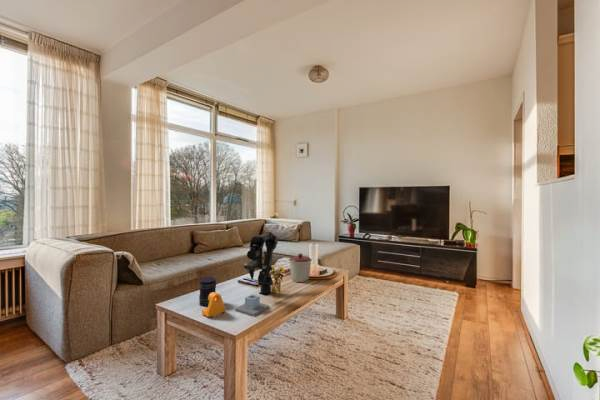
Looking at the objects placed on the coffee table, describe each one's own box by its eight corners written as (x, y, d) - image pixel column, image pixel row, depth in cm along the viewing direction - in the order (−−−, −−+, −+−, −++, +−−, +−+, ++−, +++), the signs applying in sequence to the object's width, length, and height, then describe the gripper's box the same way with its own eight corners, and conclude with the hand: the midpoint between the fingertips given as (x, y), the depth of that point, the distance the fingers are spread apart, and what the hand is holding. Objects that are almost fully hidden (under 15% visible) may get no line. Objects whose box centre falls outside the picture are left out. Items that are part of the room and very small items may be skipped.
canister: (302, 275, 234) (303, 250, 233) (316, 281, 219) (316, 254, 218) (284, 279, 224) (284, 252, 223) (296, 285, 209) (297, 257, 208)
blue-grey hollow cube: (245, 307, 165) (245, 297, 165) (251, 304, 170) (251, 294, 170) (252, 309, 162) (253, 299, 162) (259, 306, 167) (259, 296, 167)
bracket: (218, 308, 166) (218, 288, 166) (225, 312, 162) (225, 291, 161) (201, 314, 158) (201, 293, 158) (208, 318, 154) (208, 296, 153)
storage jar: (198, 307, 168) (198, 282, 168) (199, 301, 177) (199, 277, 177) (215, 305, 171) (216, 281, 170) (216, 299, 180) (216, 276, 180)
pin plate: (235, 310, 163) (235, 301, 163) (251, 302, 175) (251, 294, 175) (253, 316, 156) (253, 306, 156) (269, 308, 168) (269, 298, 168)
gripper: (238, 256, 176) (237, 281, 177) (261, 260, 167) (261, 286, 167) (250, 253, 186) (249, 276, 186) (272, 256, 176) (272, 281, 177)
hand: (257, 280), depth 179 cm, fingers open, 9 cm apart
